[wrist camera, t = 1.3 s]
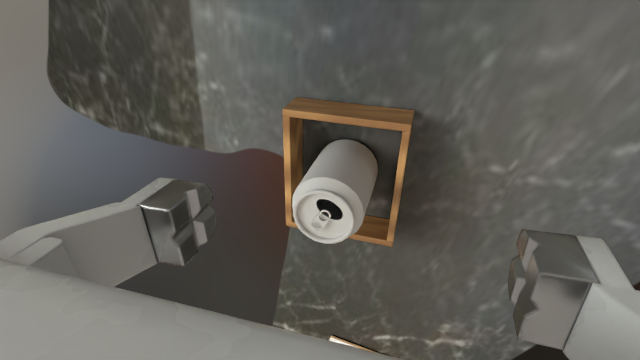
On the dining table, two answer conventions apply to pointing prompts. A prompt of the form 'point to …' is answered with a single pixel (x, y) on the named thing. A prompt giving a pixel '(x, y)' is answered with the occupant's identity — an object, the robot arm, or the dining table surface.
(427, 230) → the dining table surface
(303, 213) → the can
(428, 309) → the dining table surface
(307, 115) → the crate
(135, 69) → the dining table surface
